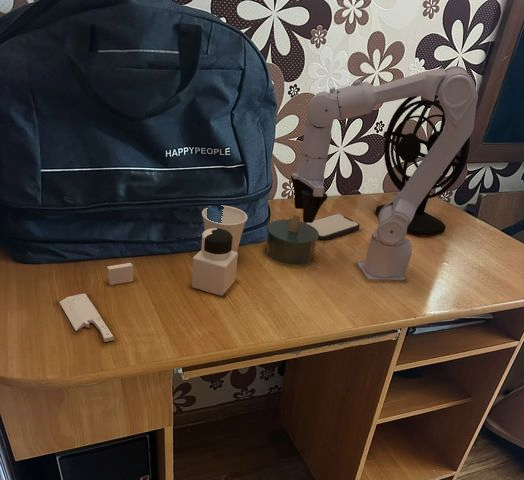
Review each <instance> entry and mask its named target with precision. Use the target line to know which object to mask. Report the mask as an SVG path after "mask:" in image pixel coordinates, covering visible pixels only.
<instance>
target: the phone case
mask: <svg viewBox="0 0 524 480" xmlns="http://www.w3.org/2000/svg"><path fill="white" fill-rule="evenodd" d="M306 224H309V225H311V226H312V227H314V228H315V229H316V230H317V231H318V233H319V237H318V239H317V240H316V241H320V242H321V241H322V242H325V241H328V240H330V239H333V238H336V237H339V236H343V235H346V234H349V233H352V232H355V231H358V230H359V229H360V223H359V222H357V221H355V220H353V219H351V218H349V217H347V216H345V215H343V214H341V213H334V214H331V215H328V216H325V217H321V218H317V219H314V221H313V223H306Z"/></svg>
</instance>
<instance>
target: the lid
mask: <svg viewBox="0 0 524 480" xmlns="http://www.w3.org/2000/svg"><path fill="white" fill-rule="evenodd" d="M301 220H302V219H301V217H300V216H298V215H290V217H289V219H277V220H273V221H271V222H270V223H269V224H268V225H267V227H266V228H267V229H266V231H267V234H270V235H271V236H272V237H274V238H275V239H277V240H280V241H282V242H286V243H290V244H310V243H313V242H315V241H316V242H317V241H318V240H317V239H318V237H319V233H318V231H317V230H316V229H315V228H314V227H312V226H311V225H309V224H306V223H304V222H303V221H301Z"/></svg>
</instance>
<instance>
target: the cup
mask: <svg viewBox="0 0 524 480" xmlns="http://www.w3.org/2000/svg"><path fill="white" fill-rule="evenodd" d="M222 206H223V207H224V209H223V210H222V211H223V212H222V213H223V214H222V215H223V216H221V217H222V218H221V220H222V221H221V222H222V223H218V222H214V221H211V220H209V219H208V218H207V209H208V208H207V207H205V208H204V209H203V210H202V211H201V216H202V218H203V227H204V231H205V230H207V229H211V228H220V229H224V230H226V231H228V232H230V233H231V235H232V237H233V239H232V249H231V251H234V252H237V253H238V249H239V246H240V244H241V243H240V242H241V240H242V239H241V238H242V235H243V232H244V229H245V225H246V222H247V221H248V214H247V213H246V212H245V211H243V210H242V209H241V208H240V209H239V208H237V207H234V206H229V205H222Z"/></svg>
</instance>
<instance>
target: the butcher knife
mask: <svg viewBox="0 0 524 480" xmlns="http://www.w3.org/2000/svg"><path fill="white" fill-rule="evenodd" d="M58 302H59V305H60V306H61V308H62V310H63V311H64V313H65V315H66V316H67V318H68V321H69V322H70V324H71V325H72V327H73V329H74V331H75V332H77V331H80V329H82V328H84V327H85V328H87V329H88V328H90V324H92V325H94V327H95V328H96V329H97V330H98V331H99V333H100V335H101V337H102V339H103V342H104V343H107V342H111V341H114V340H115V337H114V335H113V334H112V332H111V331H110V329H109V327H108V326H107V324H106V323H105V321H104V319H103V318H102V316H101V314H100V313H99V311H98V310H97V308H96V307H95V305H94V304H93V302H92V301H91V300H90V298H89V297H88V295H87V293H80V294H74V295H69V296H67V297H65V298H64V299H61V300H60V301H58Z"/></svg>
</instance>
